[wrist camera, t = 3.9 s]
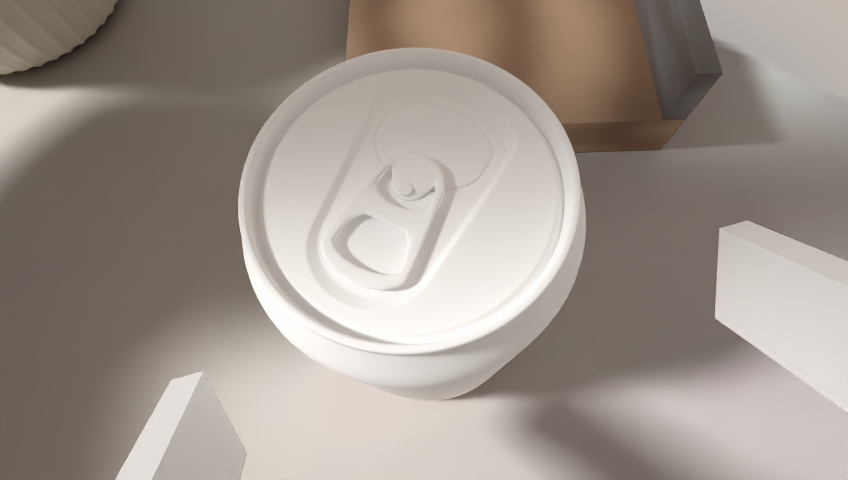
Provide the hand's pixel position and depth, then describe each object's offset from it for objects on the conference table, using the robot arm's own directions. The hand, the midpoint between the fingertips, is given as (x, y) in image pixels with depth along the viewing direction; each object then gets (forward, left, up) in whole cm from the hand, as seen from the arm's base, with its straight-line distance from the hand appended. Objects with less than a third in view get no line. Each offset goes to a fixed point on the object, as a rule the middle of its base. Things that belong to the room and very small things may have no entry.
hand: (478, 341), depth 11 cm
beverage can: (-2, +3, -9) cm, 9 cm away
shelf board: (+2, +19, -9) cm, 21 cm away
